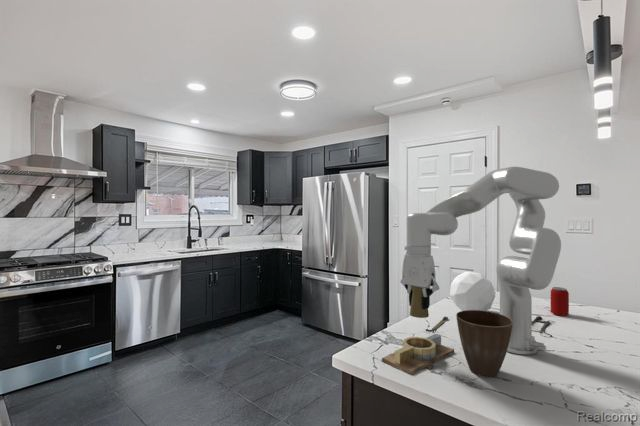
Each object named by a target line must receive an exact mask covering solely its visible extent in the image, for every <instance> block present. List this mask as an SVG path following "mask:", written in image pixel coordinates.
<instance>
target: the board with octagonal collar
mask: <svg viewBox="0 0 640 426" xmlns="http://www.w3.org/2000/svg"><path fill="white" fill-rule="evenodd" d="M454 353H455V349H454V348H451V347H450V346H447V345H446V346H445V345H443V344H441V346H439V347H437V348H436V355H435V358H434V359H432V360H425V361H423V360H422V361H421V360H415V359H411V360H409V361H407V362H405V363H403V364H401V365H399V364H397V363H395V352H393V353H391V354H389V355H385V356H383V357H381V362H382V363H384V364H387V365H389V366H391V367H393V368H395V369H398V370H400V371H402V372H404V373H407V374H409V375H413V374H415V373H417V372H419V371H421V370H423V369H425V368H427V367H428V366H431V365H433V364H435V363H436V362H438V361H440V360H442V359H444V358H446V357H449V356H450V355H452V354H454Z"/></svg>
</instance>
